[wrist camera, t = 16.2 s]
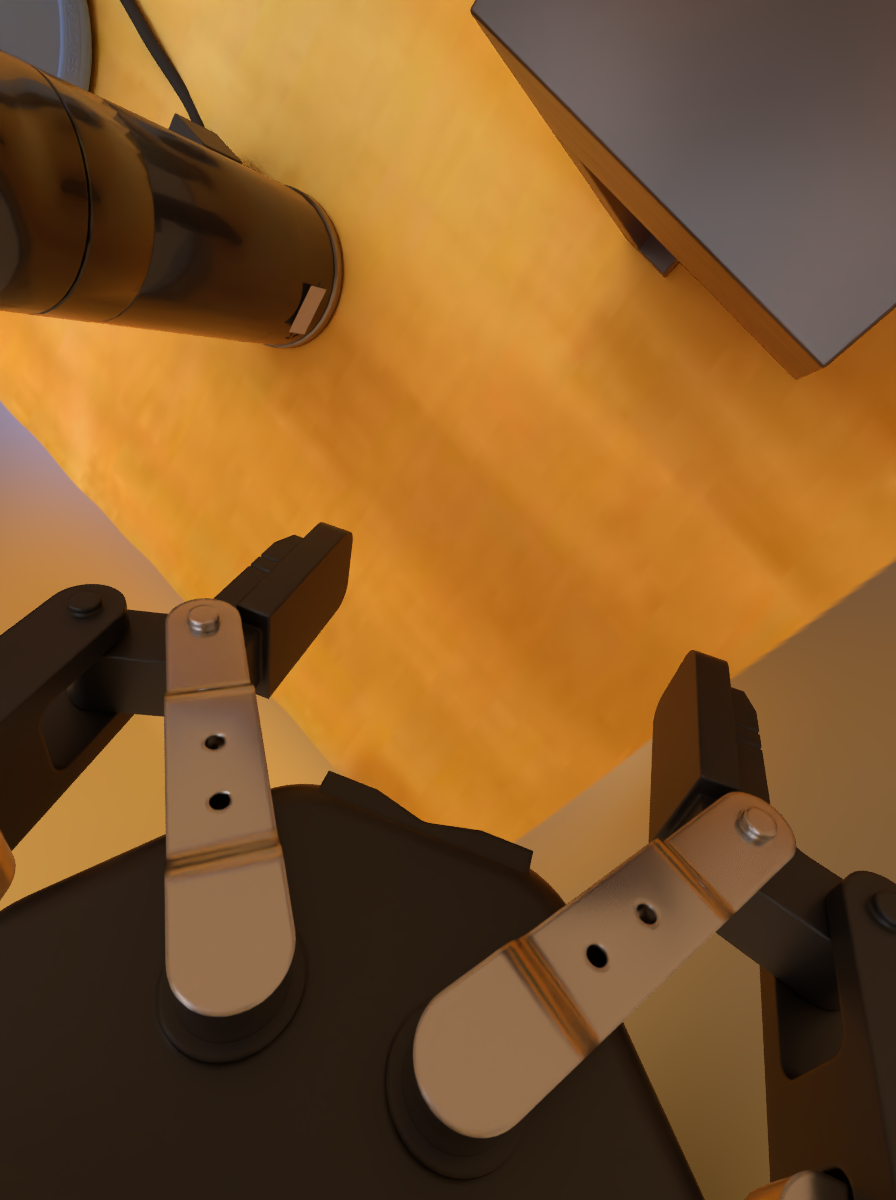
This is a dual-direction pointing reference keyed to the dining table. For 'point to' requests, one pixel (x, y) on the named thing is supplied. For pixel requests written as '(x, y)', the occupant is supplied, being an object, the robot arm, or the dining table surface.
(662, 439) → the dining table surface
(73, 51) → the water jug
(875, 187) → the drawer unit
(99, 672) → the robot arm
